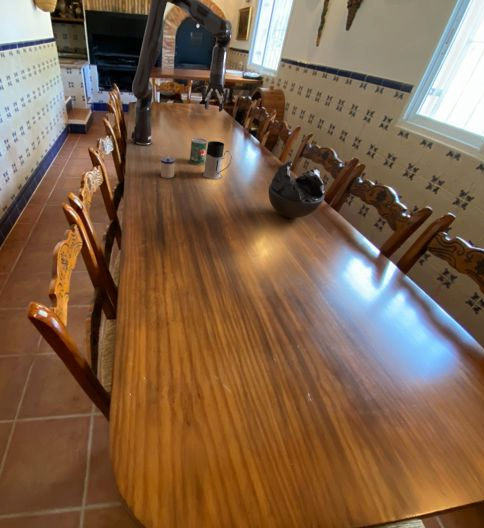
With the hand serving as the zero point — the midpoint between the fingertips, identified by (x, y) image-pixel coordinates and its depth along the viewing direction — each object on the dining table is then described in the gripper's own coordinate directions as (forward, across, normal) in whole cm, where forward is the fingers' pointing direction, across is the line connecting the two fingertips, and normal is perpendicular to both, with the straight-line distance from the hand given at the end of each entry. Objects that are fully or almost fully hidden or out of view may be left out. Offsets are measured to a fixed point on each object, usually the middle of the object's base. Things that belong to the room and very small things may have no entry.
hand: (213, 110), depth 153 cm
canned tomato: (+23, 0, -14) cm, 27 cm away
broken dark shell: (+23, +56, -44) cm, 75 cm away
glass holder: (+23, +17, -27) cm, 39 cm away
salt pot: (+23, -3, -39) cm, 46 cm away
